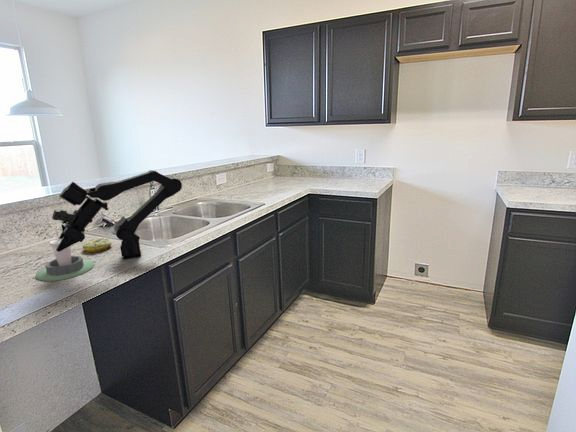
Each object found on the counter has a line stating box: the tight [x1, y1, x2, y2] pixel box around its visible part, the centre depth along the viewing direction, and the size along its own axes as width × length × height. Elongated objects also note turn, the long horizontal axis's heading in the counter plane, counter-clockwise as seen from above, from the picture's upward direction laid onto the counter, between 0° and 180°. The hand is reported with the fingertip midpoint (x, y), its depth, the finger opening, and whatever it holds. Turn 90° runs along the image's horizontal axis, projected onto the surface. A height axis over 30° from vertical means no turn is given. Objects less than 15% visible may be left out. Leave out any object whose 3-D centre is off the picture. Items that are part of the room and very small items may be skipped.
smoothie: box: [49, 229, 72, 266], centre depth 120 cm, size 6×6×14 cm
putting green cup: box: [35, 255, 95, 282], centre depth 122 cm, size 18×18×3 cm
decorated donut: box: [82, 237, 113, 253], centre depth 144 cm, size 10×11×4 cm
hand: (57, 248), depth 119 cm, fingers closed on smoothie, 6 cm apart
